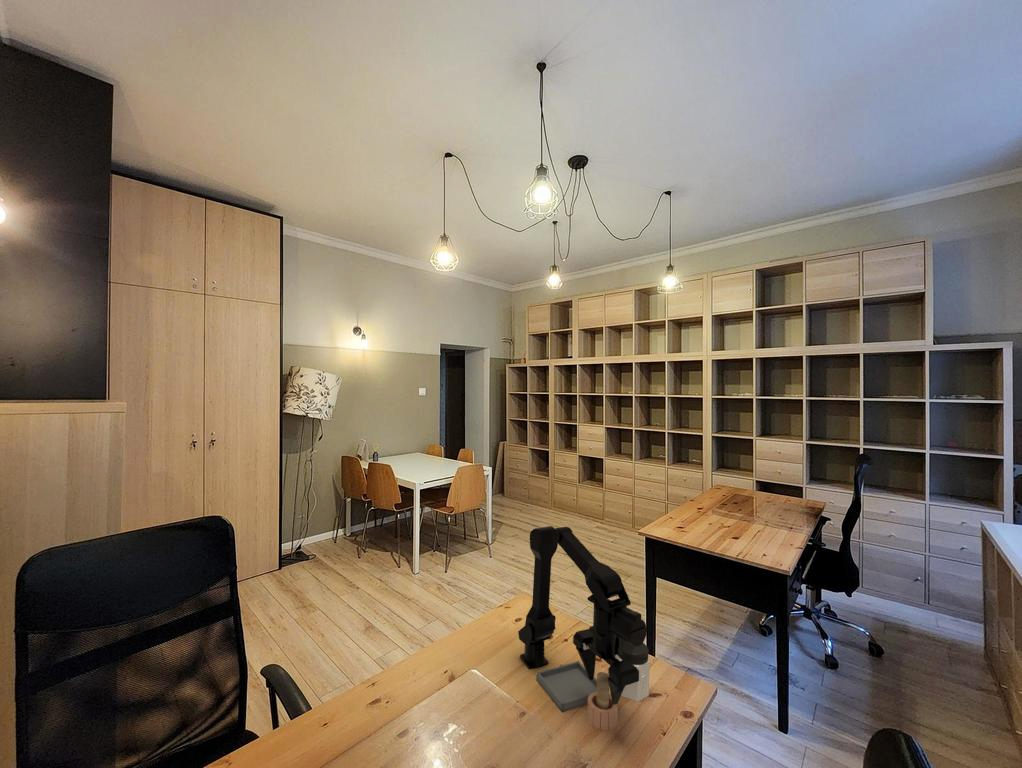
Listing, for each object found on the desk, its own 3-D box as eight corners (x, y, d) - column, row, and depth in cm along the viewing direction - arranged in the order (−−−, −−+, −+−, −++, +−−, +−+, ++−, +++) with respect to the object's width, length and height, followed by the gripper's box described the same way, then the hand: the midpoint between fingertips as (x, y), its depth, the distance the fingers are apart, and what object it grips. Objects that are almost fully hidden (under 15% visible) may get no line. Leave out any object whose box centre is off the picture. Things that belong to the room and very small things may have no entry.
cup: (581, 715, 101) (582, 696, 101) (604, 707, 104) (604, 689, 104) (599, 736, 94) (600, 716, 95) (623, 727, 97) (623, 707, 98)
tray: (536, 681, 112) (536, 672, 112) (578, 669, 118) (578, 660, 118) (561, 714, 101) (562, 704, 101) (607, 699, 107) (607, 689, 107)
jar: (632, 707, 104) (633, 659, 105) (608, 688, 111) (609, 642, 112) (654, 695, 109) (655, 649, 110) (630, 677, 116) (631, 634, 117)
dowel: (593, 716, 100) (594, 673, 100) (603, 712, 101) (604, 670, 102) (601, 724, 97) (602, 681, 98) (610, 721, 98) (612, 678, 99)
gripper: (657, 638, 95) (656, 708, 95) (606, 602, 112) (604, 661, 111) (620, 649, 91) (618, 722, 90) (572, 609, 108) (570, 671, 107)
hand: (602, 691), depth 100 cm, fingers open, 9 cm apart
